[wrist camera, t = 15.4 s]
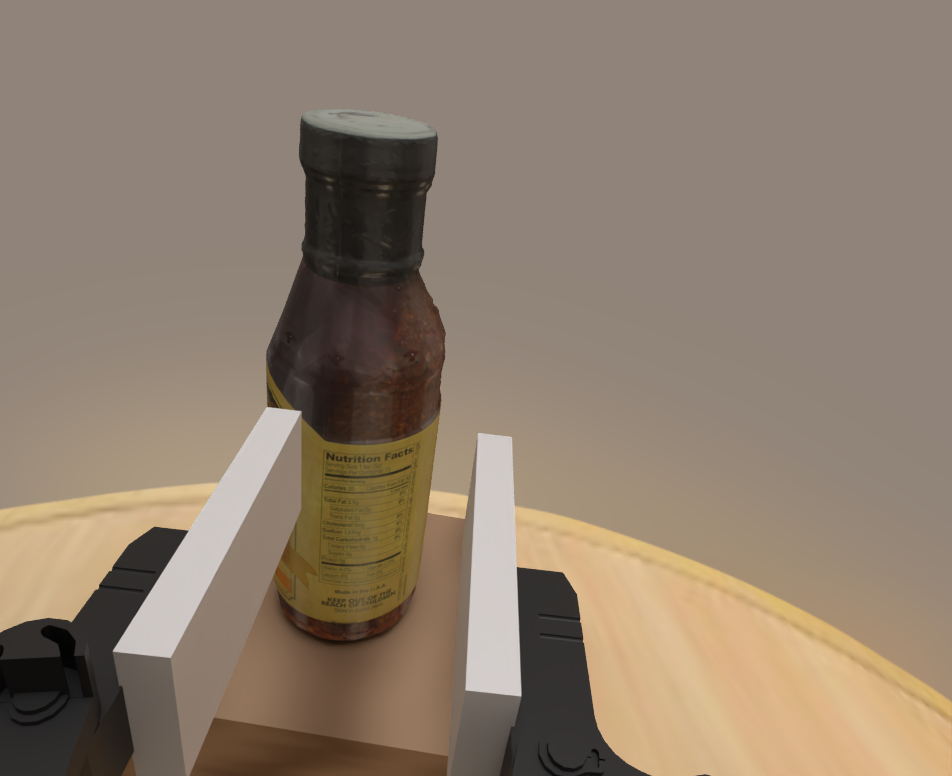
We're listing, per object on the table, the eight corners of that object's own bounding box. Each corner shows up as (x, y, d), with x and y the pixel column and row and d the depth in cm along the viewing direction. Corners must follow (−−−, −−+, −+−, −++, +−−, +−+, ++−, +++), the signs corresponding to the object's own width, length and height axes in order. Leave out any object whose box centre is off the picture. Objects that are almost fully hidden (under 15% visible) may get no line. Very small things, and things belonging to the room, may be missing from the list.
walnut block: (125, 797, 26) (105, 699, 23) (250, 568, 38) (247, 484, 35) (471, 855, 26) (494, 763, 23) (492, 607, 38) (508, 526, 35)
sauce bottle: (297, 537, 32) (300, 93, 23) (425, 556, 32) (480, 120, 23) (248, 647, 26) (224, 111, 17) (404, 669, 26) (466, 147, 17)
